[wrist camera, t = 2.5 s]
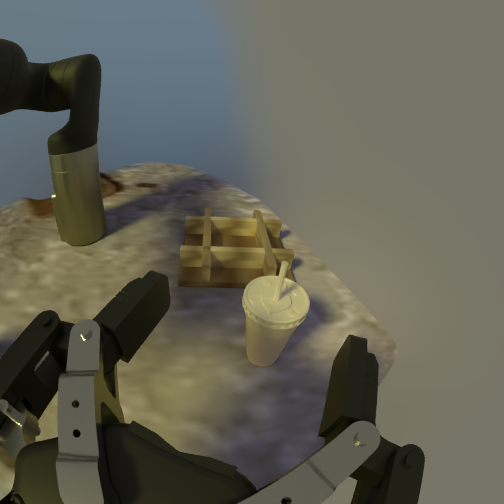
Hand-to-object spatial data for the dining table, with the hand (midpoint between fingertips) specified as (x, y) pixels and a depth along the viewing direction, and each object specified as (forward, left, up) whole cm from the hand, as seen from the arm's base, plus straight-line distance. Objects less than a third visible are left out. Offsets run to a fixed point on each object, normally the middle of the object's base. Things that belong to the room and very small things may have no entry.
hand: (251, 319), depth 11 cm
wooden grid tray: (+3, +30, -18) cm, 36 cm away
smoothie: (+5, +10, -19) cm, 22 cm away
